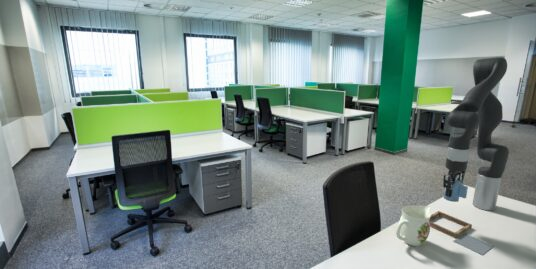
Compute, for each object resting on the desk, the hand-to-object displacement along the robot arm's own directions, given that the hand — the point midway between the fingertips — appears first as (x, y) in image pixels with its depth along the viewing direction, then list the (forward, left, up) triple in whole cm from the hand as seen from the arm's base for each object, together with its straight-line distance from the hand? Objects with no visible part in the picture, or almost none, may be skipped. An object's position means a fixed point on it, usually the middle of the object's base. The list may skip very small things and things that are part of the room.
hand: (451, 194), depth 117 cm
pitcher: (+25, -2, -15) cm, 30 cm away
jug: (0, +1, -2) cm, 2 cm away
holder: (0, 0, -15) cm, 15 cm away
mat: (+5, +12, -15) cm, 20 cm away
